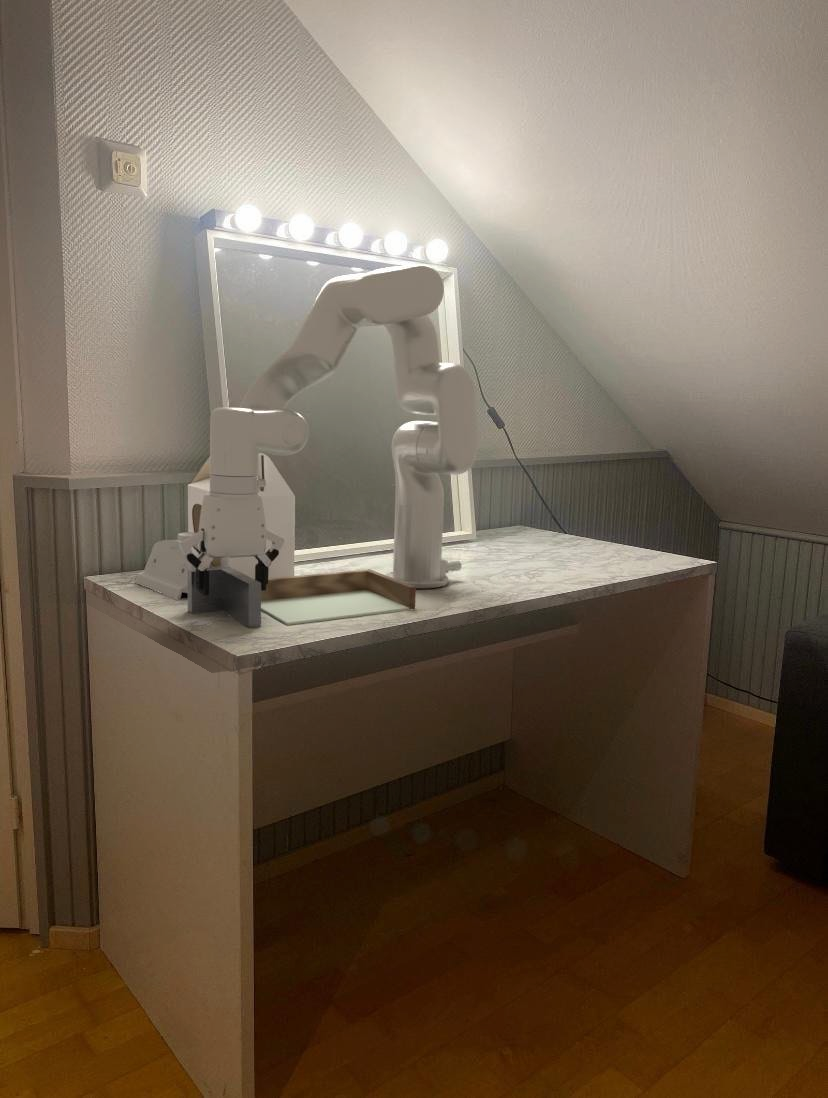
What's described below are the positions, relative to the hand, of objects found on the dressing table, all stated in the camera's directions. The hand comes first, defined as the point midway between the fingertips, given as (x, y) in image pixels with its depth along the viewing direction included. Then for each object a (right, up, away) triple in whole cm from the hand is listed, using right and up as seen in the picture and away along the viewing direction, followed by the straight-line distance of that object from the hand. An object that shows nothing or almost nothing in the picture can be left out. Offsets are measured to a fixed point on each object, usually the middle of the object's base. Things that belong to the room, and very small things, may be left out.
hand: (232, 591), depth 136 cm
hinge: (-15, -1, +18) cm, 23 cm away
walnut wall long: (+11, -2, +15) cm, 19 cm away
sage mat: (+15, -3, +8) cm, 17 cm away
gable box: (-5, +1, +29) cm, 29 cm away
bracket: (-1, -4, -2) cm, 5 cm away
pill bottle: (-14, +1, +26) cm, 29 cm away
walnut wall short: (+25, -2, +15) cm, 29 cm away
